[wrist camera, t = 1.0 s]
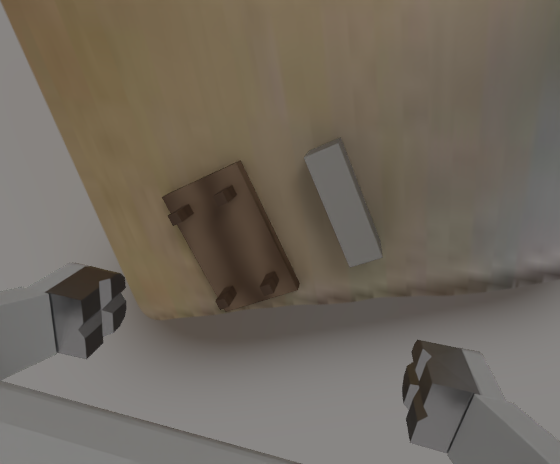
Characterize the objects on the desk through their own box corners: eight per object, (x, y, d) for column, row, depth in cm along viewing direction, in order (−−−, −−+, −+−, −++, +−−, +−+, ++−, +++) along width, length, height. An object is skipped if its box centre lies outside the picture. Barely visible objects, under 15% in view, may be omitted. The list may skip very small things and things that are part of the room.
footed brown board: (240, 160, 39) (226, 168, 35) (299, 283, 43) (293, 303, 39) (168, 193, 42) (147, 204, 38) (229, 305, 47) (216, 326, 42)
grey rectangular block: (340, 136, 36) (338, 143, 32) (380, 240, 40) (382, 257, 36) (309, 150, 38) (303, 157, 34) (350, 249, 41) (349, 267, 37)
